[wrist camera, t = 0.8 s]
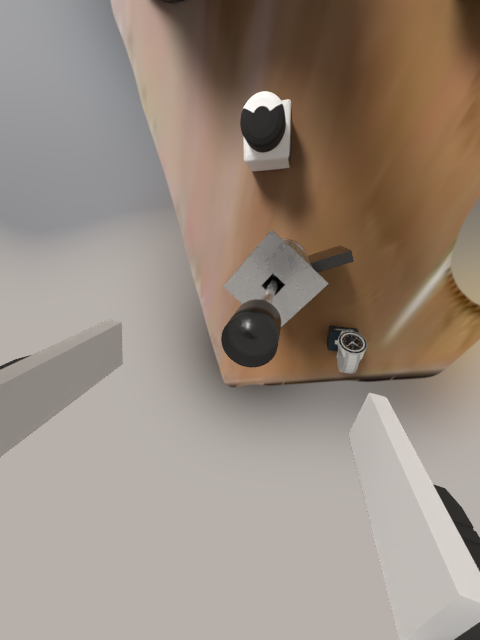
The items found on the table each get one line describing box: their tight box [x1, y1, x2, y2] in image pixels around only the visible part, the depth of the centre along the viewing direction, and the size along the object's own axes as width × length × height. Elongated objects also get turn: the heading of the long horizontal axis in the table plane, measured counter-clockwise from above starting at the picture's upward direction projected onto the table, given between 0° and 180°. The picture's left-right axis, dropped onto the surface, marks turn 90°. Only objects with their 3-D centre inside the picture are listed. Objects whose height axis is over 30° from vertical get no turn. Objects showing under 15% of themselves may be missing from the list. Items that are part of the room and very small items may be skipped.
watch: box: [327, 326, 367, 374], centre depth 46 cm, size 6×8×11 cm
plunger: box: [221, 274, 285, 367], centre depth 27 cm, size 9×9×23 cm
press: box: [224, 230, 353, 327], centre depth 40 cm, size 16×12×17 cm
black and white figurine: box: [240, 91, 292, 171], centre depth 36 cm, size 7×7×12 cm
